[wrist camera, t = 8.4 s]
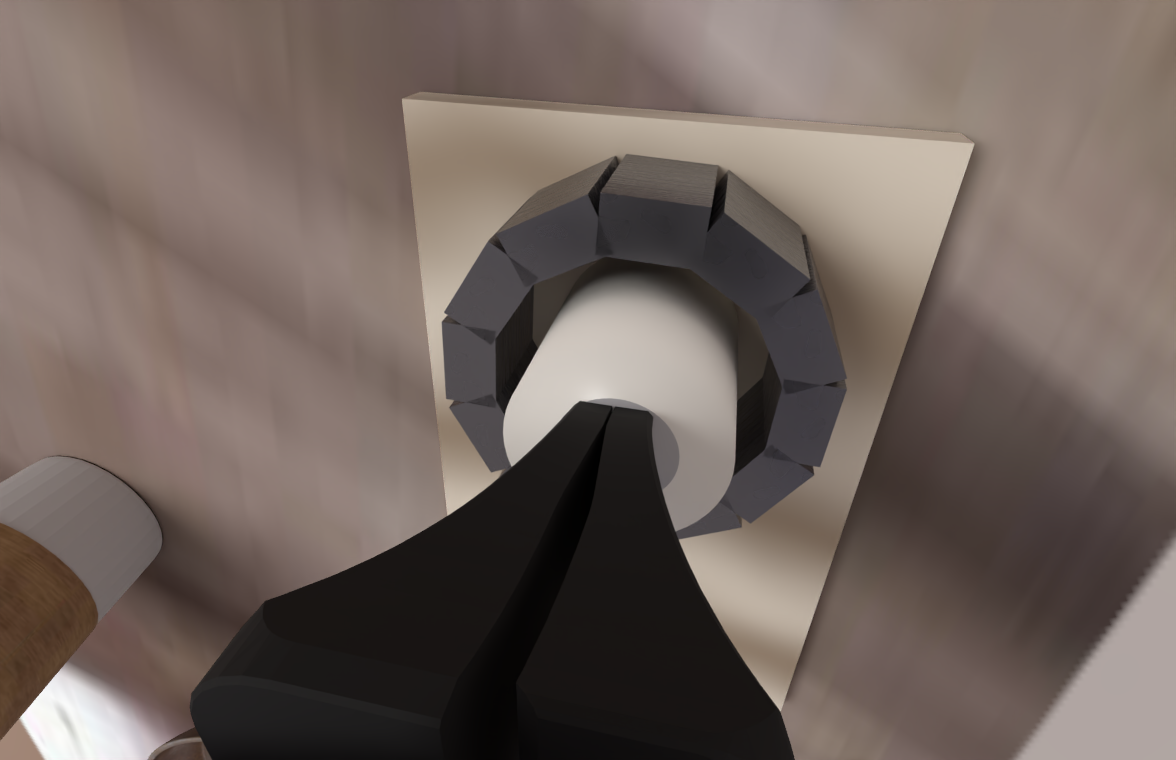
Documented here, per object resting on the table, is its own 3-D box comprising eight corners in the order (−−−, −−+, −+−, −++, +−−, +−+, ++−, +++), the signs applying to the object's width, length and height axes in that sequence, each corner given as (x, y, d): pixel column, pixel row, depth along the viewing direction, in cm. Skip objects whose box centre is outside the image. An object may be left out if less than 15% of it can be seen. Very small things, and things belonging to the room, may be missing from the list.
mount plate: (777, 693, 24) (778, 719, 24) (471, 629, 26) (462, 651, 25) (961, 133, 14) (974, 143, 13) (420, 91, 15) (401, 98, 15)
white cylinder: (667, 431, 18) (642, 570, 14) (533, 341, 17) (465, 458, 13) (777, 318, 16) (788, 445, 11) (627, 209, 15) (580, 301, 11)
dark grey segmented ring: (676, 509, 19) (665, 588, 17) (436, 346, 18) (386, 406, 16) (907, 310, 15) (939, 380, 12) (608, 74, 13) (576, 97, 11)
